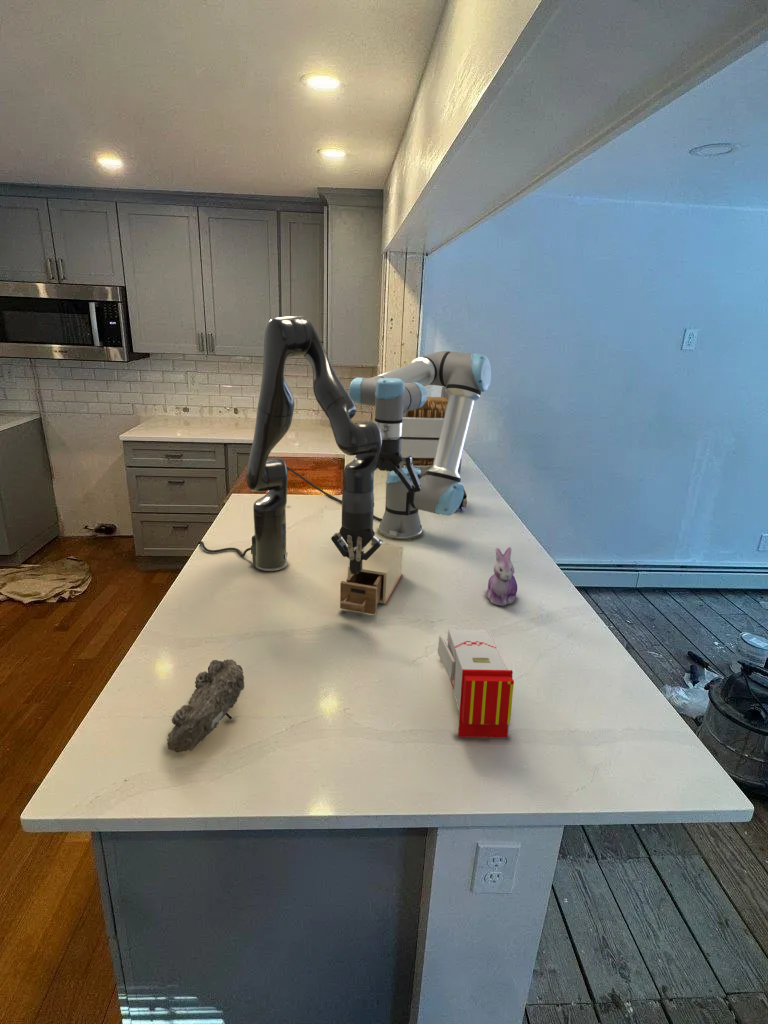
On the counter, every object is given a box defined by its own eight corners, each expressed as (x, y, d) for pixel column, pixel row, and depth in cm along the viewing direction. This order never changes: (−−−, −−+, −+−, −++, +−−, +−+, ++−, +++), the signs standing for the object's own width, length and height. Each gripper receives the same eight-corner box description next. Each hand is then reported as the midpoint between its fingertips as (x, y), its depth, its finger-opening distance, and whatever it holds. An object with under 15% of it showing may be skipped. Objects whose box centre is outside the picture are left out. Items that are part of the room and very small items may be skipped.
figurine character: (467, 516, 223) (461, 500, 237) (469, 499, 220) (463, 483, 233) (450, 516, 223) (446, 499, 236) (452, 498, 220) (447, 483, 233)
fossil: (192, 660, 117) (244, 628, 112) (224, 691, 120) (276, 661, 115) (142, 746, 98) (202, 712, 93) (182, 779, 101) (242, 748, 96)
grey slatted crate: (382, 463, 289) (386, 382, 275) (445, 464, 293) (451, 384, 279) (390, 482, 257) (394, 392, 243) (460, 483, 261) (468, 394, 247)
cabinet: (385, 604, 152) (386, 573, 149) (347, 597, 155) (348, 566, 152) (401, 575, 169) (403, 546, 166) (366, 569, 172) (367, 541, 168)
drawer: (369, 625, 140) (370, 598, 138) (332, 618, 142) (333, 592, 140) (392, 585, 161) (393, 561, 158) (360, 580, 163) (360, 556, 160)
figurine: (499, 610, 151) (506, 558, 146) (476, 593, 160) (482, 544, 155) (527, 603, 156) (534, 553, 151) (503, 587, 164) (509, 539, 159)
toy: (488, 613, 130) (523, 677, 101) (484, 667, 133) (517, 744, 104) (435, 612, 130) (455, 676, 101) (432, 666, 133) (451, 743, 103)
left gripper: (325, 508, 132) (325, 575, 138) (380, 515, 129) (377, 583, 135) (336, 498, 139) (335, 563, 145) (388, 505, 136) (385, 570, 142)
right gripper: (339, 435, 153) (338, 509, 160) (430, 444, 147) (424, 520, 154) (348, 430, 160) (346, 501, 167) (435, 438, 154) (430, 512, 161)
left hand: (355, 573), depth 140 cm, fingers closed
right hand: (384, 510), depth 161 cm, fingers open, 13 cm apart
